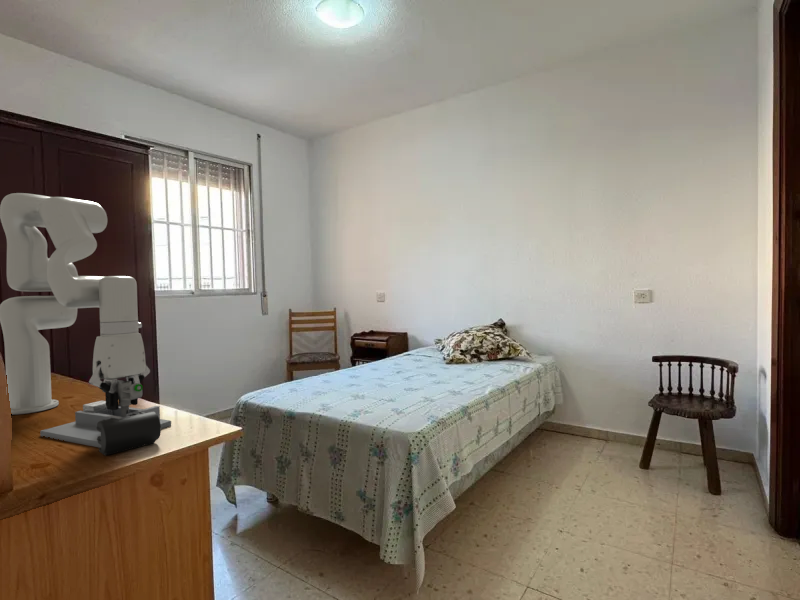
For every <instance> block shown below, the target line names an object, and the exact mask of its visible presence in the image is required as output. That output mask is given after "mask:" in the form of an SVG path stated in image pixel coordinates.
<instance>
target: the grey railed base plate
mask: <svg viewBox="0 0 800 600" xmlns="http://www.w3.org/2000/svg"><path fill="white" fill-rule="evenodd" d="M160 410H161V409H160V405H154V406H151V407H147V408H137V407H130V406H129V413H128V414H126V417H130V415H131V414H133V413H134V414H136V413H139V412H144V413H149V412H156V413H157V415H158V417H159V420H160V425H161V430H162V429H165V428H169V427H171V426H172V420H169V419H162V418H161V412H160ZM112 411H113V415H107V414H100V413H93V412H86V411H83V410H78V411H75V412H74V414H75V415H74V416H75V421H72V422H69V423H64V424H61V425H57V426H53V427H49V428H44V429H42V430H40V434H39V435H40V437H43V436H45V437H44V438H48V437H50V438H49V439H53V438H54V439H55V440H58V439H59V441H63V440H64V441H63V442H69V443H74V444H79V445H85V446H90V447H95V448H98V449H99V448H101V445H100V444H98V440H97V438H98V436H101V432H99V431H98V430H97V429H96V428H97V423H98V422H99V421H102V420H104V419H105V420H107V419H110V418H115V419H120V418H125V417H121V407H119V408H118V409H117V410H112Z"/></svg>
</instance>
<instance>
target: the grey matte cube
mask: <svg viewBox="0 0 800 600" xmlns="http://www.w3.org/2000/svg"><path fill="white" fill-rule="evenodd" d="M82 411H86V412H93V413H100V414H107V415H113V411H112V410H110V409H107V406H106V400H98V401H94V402H90V403H85V404H83V405H82Z"/></svg>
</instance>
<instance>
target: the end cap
mask: <svg viewBox="0 0 800 600" xmlns="http://www.w3.org/2000/svg"><path fill="white" fill-rule="evenodd" d="M96 429H97V430H98V431H99V432H101V436H98V438H97V440H98V444H100V445H101V448H99V447H98V452H99V453H101V454H102V455H103V456H109V455H114V454H117V453H120V452H124V451H128V450H133V449H136V448H140V447H144V446H148V445H152V444H155V442H156V441H157V440H159V438H160V436H161V431H162V429H161V425H160V420H159V417H158V415H157V413H156V412H149V413H144V412H139V413H136V414H134V413H133V414H131V415H130V417H125V418H120V419H115V418H110V419H107V420H105V419H104V420H102V421H99V422H98V423H97V428H96Z"/></svg>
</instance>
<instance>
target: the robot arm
mask: <svg viewBox="0 0 800 600" xmlns="http://www.w3.org/2000/svg"><path fill="white" fill-rule="evenodd" d="M107 215H108V214H107V211H106V210H105V209H104V208H103V207H102V206H101V204H99V203H98V202H94V201H91V200H84V199H78V198H72V197H66V196H47V195H42V194H34V193H26V192H25V193H24V192H16V193H15V192H14V193H10V194H9V193H8V194H7V195H5V196H4V197H3V198H2V200H1V202H0V223H1V226H2V228H3V231H4V233H5V237H6V281H7V285H8V286H9V288H11V289H12V290H14V291H18V292H52V294H53V295H29V296H28V295H25V296H24V295H23V296H14V297H9V298H7V299H5V300H3V301H2V302H1V303H0V327H1V330H2V334H3V342H4V343H3V344H4V359H5V360H4V361H5V376H6V375H7V384H8V393H9V401H10V408H11V413H12V415H24V414H25V415H26V414H31V413H37V412H42V411H46V410H50V409H54V408H56V407H58V406H59V403H60V402H59V400H57V399H52V379H51V378H52V375H51V374H52V373H51V357H50V356H51V351H50V344H49V342H48V340H47V339H46V338H45V337H44V336H43V335H42V334H41V333H40V332H39V331H40V330H50V329H61V328H63V329H64V328H67V327H71V326H72V325H74V324H75V322H76V320H77V317H78V309H87V308H88V309H89V308H90V309H91V308H99V329H100V331H99V332H100V335H98V336H96V339H95V340H94V341H95V342H94V347H93V356H92V357H93V358H92V375H91V377H90V378H89V381H88V383H89V385H92V386H94V387H97V388H99V389H100V390H101V391H102V392H103V393H105V395H104V396H105V401H106V406H107V409H110V410H117V409H118V408H119V399H118V392H115V390H116V383H117V380H120V379H123V378H125V379H126V381H131V385H132V384H134V383H140V384H142V382H143V381H144V379H145V378H146V377H147V376H148V375H149V374H150V373H151V369H150V368H149V367H148V365H147V363H146V353H145V346H144V341H143V338H142V334H141V333H139V329H142V327H143V323H142V322H139V316H138V315H139V313H138V311H139V309H138V285H137V283H138V282H137V281H136V279H135V278H134V277H132V276H128V275H127V276H126V275H108V276H106V275H105V276H104V275H103V276H100V275H99V276H98V275H79V274H78V269H77V267H76V265H74V263H75V262H78V261H81V260H83V259H86V258H87V257H89V256H92V254H93V253H94V252H95V251H96V249H97V247H98V242H97V240H96V238H95V237H94V234H98V233H102V232H103V231H105V229H106V228H107V225H108V216H107ZM38 227H39V228H45V230H46V231H47V233H48V235H49V237H50V239H51V241H52V243H53V245H54V248H55V250H54V251H53V252H52V254H51V255H50V257H48V242H47V239H46V237H45V236H44V235H43V234H42V232H41V231H40V230H39V229H38ZM102 380H103V381H102ZM138 399H139V398H137V399H133V400H130V401H131V405H133V406H136V405H138V401H139V400H138ZM131 405H130V406H131ZM12 415H11V416H12Z"/></svg>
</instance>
